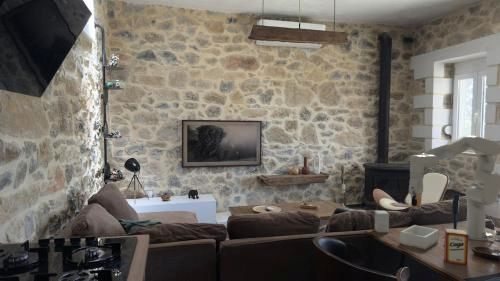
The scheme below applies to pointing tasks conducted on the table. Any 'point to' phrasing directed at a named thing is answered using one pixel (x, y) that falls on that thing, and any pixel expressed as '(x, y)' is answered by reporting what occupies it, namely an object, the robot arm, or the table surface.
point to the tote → (419, 237)
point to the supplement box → (381, 221)
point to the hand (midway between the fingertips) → (416, 204)
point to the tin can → (418, 201)
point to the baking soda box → (456, 246)
